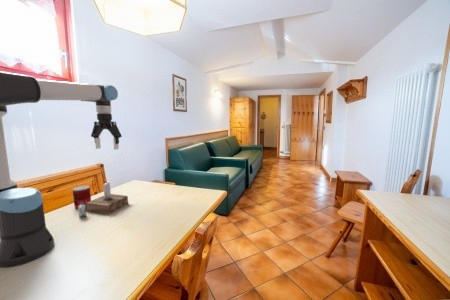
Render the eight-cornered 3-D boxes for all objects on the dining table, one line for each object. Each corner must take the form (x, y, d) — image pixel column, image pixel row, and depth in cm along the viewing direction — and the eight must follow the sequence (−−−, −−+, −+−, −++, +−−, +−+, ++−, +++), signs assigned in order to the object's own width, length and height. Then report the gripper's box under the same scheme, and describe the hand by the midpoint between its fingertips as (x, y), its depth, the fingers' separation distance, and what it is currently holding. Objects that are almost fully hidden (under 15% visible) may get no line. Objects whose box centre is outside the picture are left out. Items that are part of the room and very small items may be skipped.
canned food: (94, 203, 116) (92, 185, 115) (83, 209, 108) (81, 190, 107) (82, 203, 117) (80, 185, 115) (71, 208, 109) (68, 189, 107)
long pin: (108, 209, 108) (106, 184, 106) (104, 208, 109) (102, 184, 107) (113, 206, 111) (111, 183, 109) (108, 206, 112) (106, 182, 110)
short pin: (82, 218, 98) (81, 207, 97) (77, 217, 99) (76, 206, 98) (87, 215, 101) (86, 204, 100) (83, 214, 102) (82, 203, 101)
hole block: (108, 214, 102) (107, 205, 101) (87, 211, 105) (86, 202, 105) (128, 204, 115) (127, 195, 114) (108, 201, 119) (108, 193, 118)
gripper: (126, 113, 116) (129, 148, 119) (93, 113, 123) (96, 147, 125) (116, 112, 109) (119, 150, 112) (81, 113, 115) (85, 148, 118)
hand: (107, 148), depth 119 cm, fingers open, 13 cm apart
